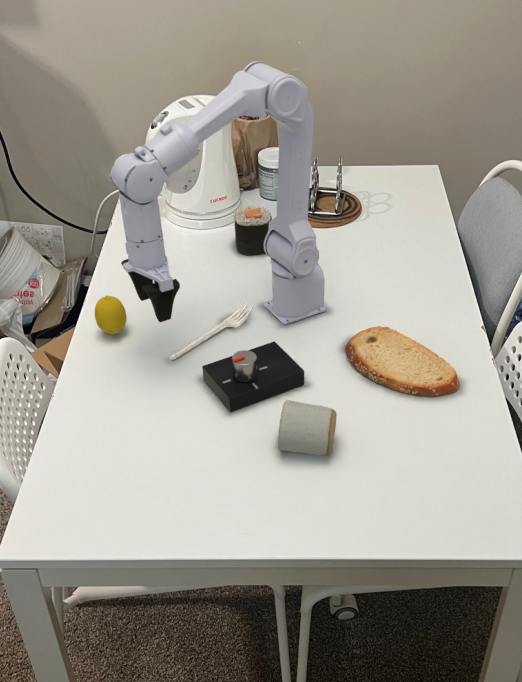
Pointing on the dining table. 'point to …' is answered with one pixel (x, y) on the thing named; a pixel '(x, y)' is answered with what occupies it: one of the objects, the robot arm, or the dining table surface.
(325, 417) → the ceramic mug
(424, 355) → the bread slice
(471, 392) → the dining table surface
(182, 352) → the fork
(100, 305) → the lemon
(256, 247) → the sushi
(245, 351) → the hob knob
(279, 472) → the dining table surface
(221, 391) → the black knob base
